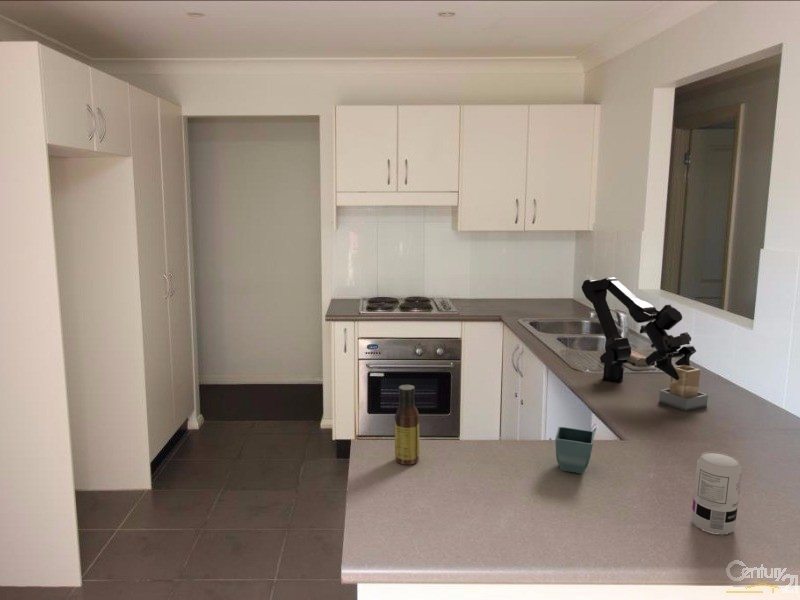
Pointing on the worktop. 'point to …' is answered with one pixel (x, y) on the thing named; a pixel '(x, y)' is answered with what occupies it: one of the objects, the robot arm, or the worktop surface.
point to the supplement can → (716, 492)
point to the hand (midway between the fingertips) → (684, 378)
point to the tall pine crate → (685, 382)
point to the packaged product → (637, 362)
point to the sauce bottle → (407, 427)
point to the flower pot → (573, 449)
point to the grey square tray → (683, 400)
